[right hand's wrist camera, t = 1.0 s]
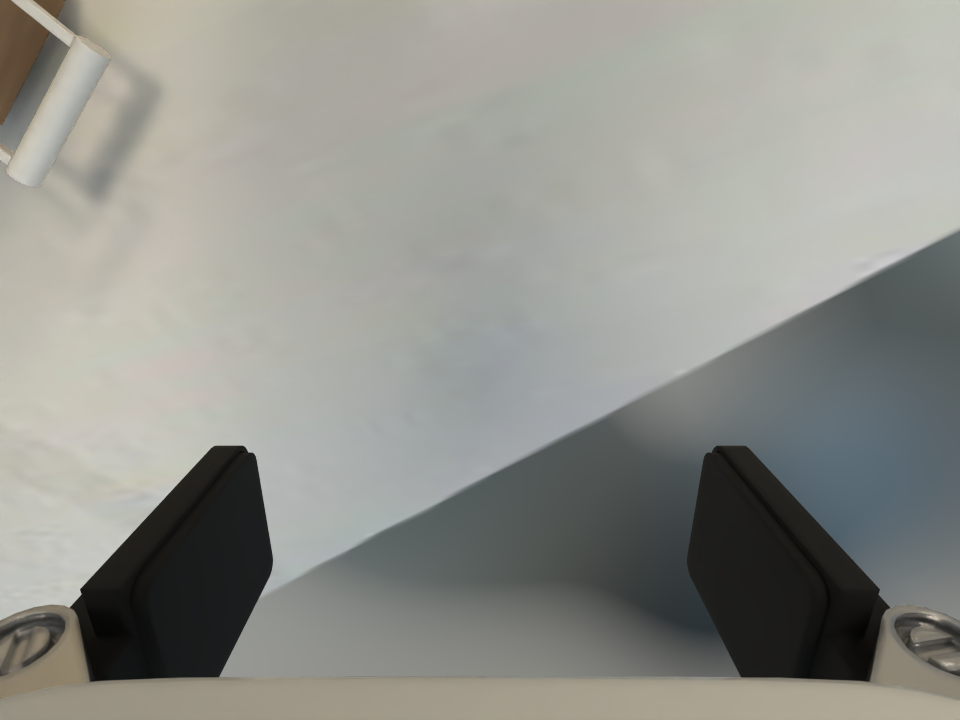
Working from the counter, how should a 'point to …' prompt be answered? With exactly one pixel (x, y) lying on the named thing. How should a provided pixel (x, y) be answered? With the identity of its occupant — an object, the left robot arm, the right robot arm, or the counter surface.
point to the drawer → (5, 65)
